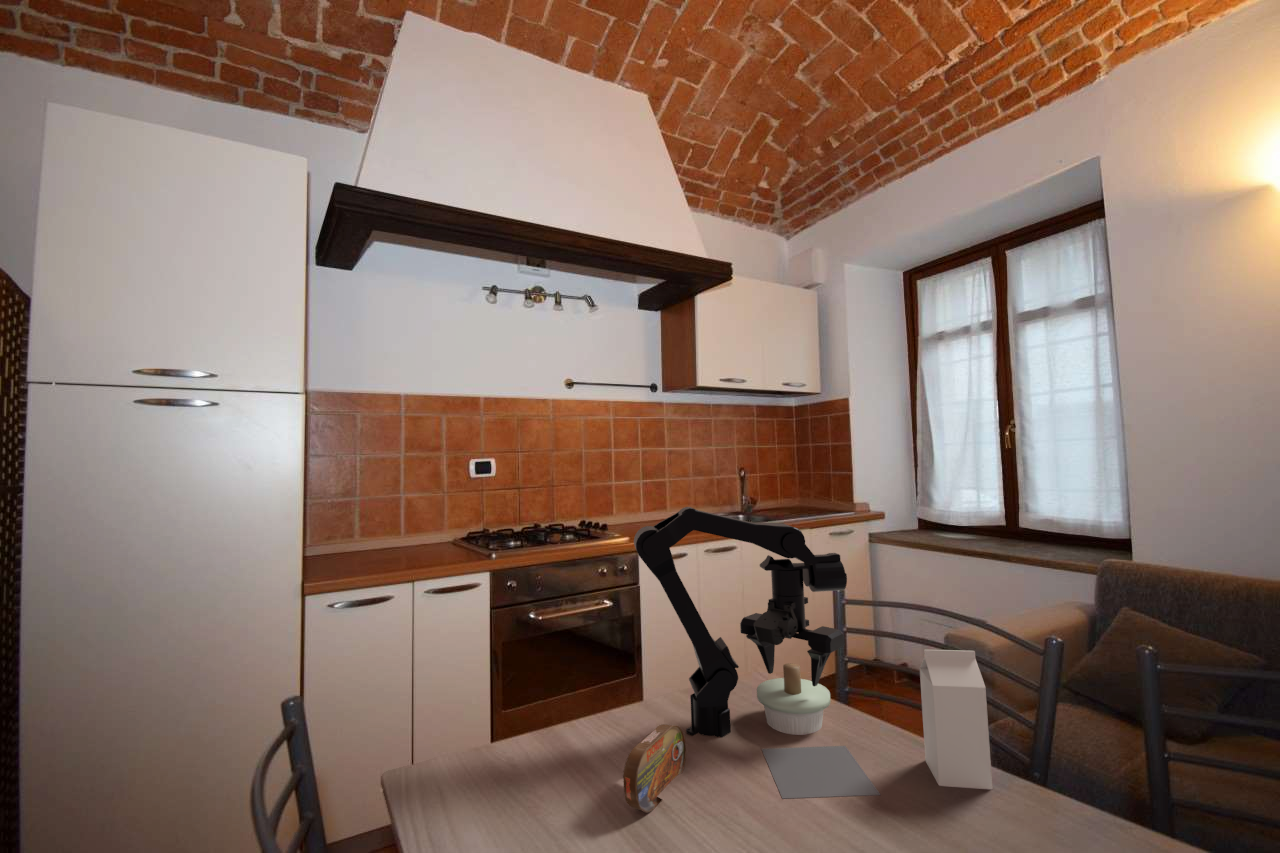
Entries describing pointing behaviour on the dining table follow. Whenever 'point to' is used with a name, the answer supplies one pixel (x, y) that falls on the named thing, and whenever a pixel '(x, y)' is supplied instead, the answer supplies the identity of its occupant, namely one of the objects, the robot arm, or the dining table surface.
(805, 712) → the lid
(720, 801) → the dining table surface
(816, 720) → the ramekin
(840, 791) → the mat
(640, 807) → the tin
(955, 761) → the milk carton
